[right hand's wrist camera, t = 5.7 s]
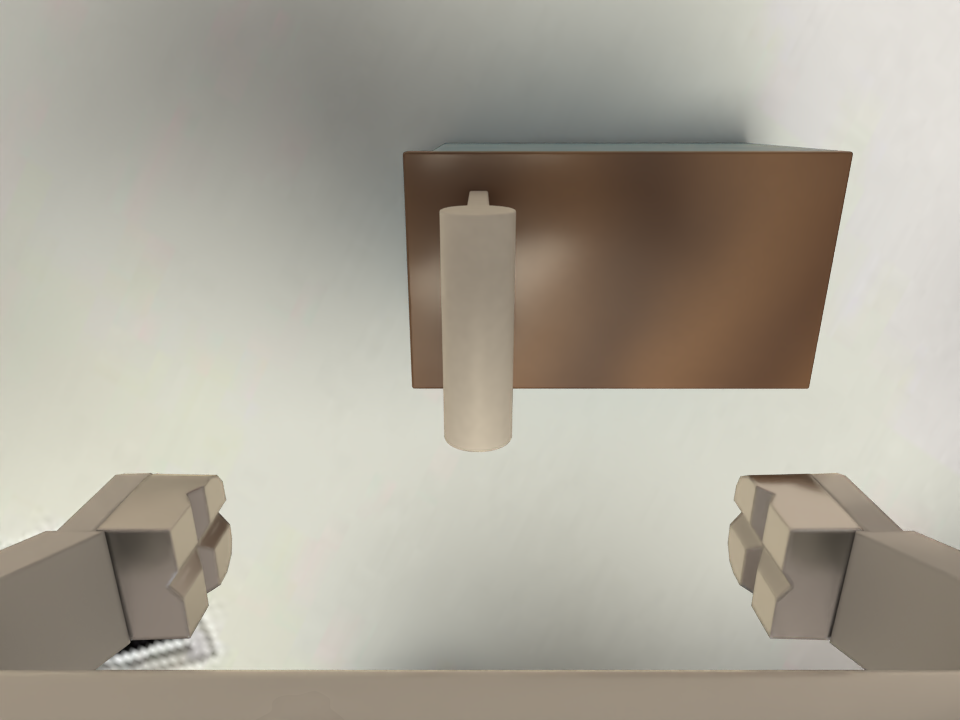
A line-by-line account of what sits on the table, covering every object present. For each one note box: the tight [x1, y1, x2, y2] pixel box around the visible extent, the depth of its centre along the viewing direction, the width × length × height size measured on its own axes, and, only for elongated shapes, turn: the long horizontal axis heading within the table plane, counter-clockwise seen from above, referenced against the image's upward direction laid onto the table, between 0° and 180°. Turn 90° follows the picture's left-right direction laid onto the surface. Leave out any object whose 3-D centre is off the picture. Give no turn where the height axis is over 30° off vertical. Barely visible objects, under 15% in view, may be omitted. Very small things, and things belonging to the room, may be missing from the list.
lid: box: [403, 151, 853, 452], centre depth 22 cm, size 17×10×9 cm, turn 90°
